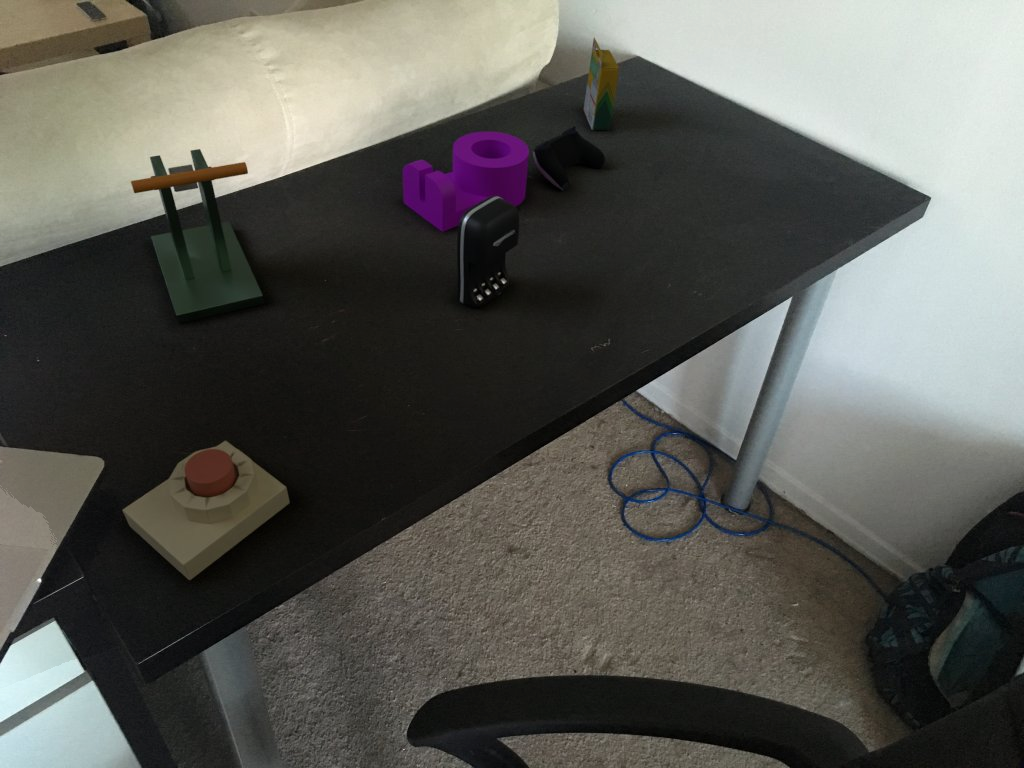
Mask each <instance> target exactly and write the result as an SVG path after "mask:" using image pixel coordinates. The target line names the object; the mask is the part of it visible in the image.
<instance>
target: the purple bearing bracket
mask: <svg viewBox="0 0 1024 768" xmlns="http://www.w3.org/2000/svg"><path fill="white" fill-rule="evenodd" d="M529 155H530V149H529V147H528V145H527V144H526V142H524V141H523V140H522V139H520V138H518V137H516V136H514V135H511V134H509V133H504V132H500V131H499V132H498V131H475V132H470V133H467V134H464V135H462V136H460V137H458V138H457V139H456V140H455V141H454V143H453V145H452V171H449V172H447V173H443V172H442V171H440V170H435V171H434V166H433V165H432V164H430V163H429V162H427V161H426V160H424V159H419V160H416V161H413V162H410V163H407V164H405V165H404V166H403V168H402V189H403V190H402V191H403V194H402V195H403V204H404V205H406V207H408V208H410V209H411V210H412V211H413V212H414V213H416V214H417V215H419V216H420V217H422V218H423V219H424V220H425V221H427V222H429V223H430V224H431V225H432V226H434V227H435V228H436V229H438V231H441V232H442V233H443V232H446V231H448V230H451V229H452V228H455V227H458V225H459V221H460V218H461V216H462V215H463V213H464V212H465V211H467V210H468V209H469V208H471V207H473V206H474V205H476V204H477V203H479V202H481V201H483V200H484V199H486V198H488V197H491V196H498V197H500V198H502V199H503V200H505V201H507V202H509V203H511V204H513V205H514V206H515V207H516V208H517V207H518V206H519V205H521V204H522V203H523V201H524V200H525V198H526V193H527V192H526V191H527V180H528V179H527V178H528V168H529V167H528V166H529V157H530V156H529Z"/></svg>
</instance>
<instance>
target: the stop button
mask: <svg viewBox="0 0 1024 768" xmlns="http://www.w3.org/2000/svg"><path fill="white" fill-rule="evenodd" d="M207 449H208V448H207ZM185 475H186V477H187V480H188V483H189V486H190V489H191V490H192V491H193V492H194V493H195V494H197V495H199V496H202V497H213V496H217V495H220V494H222V493H224V492H226V491H227V490H229V489H230V488H231V487H232V485H233V484H234V482H235V479H236V473H235V470H234V466H233V463H232V459H231V457H230V456H229V454H227V453H226V452H224V451H222V450H218V449H208V450H204V451H201V452H199V453H197V454H195V455H194V456H192V457H191V458H190V459H189V460H188V462H187V463H186V466H185Z"/></svg>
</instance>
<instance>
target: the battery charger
mask: <svg viewBox="0 0 1024 768" xmlns="http://www.w3.org/2000/svg"><path fill="white" fill-rule="evenodd" d="M519 237H520V212H519V209H518V208H517V206H516V207H515V206H514V205H513V204H511V203H509V202H507V201H505V200H503V199H502V198H500V197H498V196H491V197H488V198H486V199H484V200H483V201H481V202H479V203H477V204H476V205H474V206H473V207H471V208H469V209H468V210H467V211H465V212H464V213H463V215H462V216H461V218H460V221H459V225H458V226H457V238H456V239H457V240H456V245H457V246H456V249H457V250H456V255H457V257H456V258H457V259H456V261H457V264H456V265H457V292H456V293H457V296H456V299H457V300H458V302H460V303H461V304H464V305H467V306H469V307H471V308H474V309H475V308H478V309H479V308H482V307H484V306H486V305H487V304H489V303H490V302H491V301H494V299H496V298H497V297H499V296H500V295H502V294H503V293H504V292H505V291H507V290H508V289H509V288H510V278H509V275H508V271H507V267H506V255H507V253H508V252H509V251H511V250H512V249H515V247H517V245H518V244H519Z"/></svg>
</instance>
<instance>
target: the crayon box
mask: <svg viewBox="0 0 1024 768" xmlns="http://www.w3.org/2000/svg"><path fill="white" fill-rule="evenodd" d="M619 74H620V67H619V65H618V63H617V61H616V60H615V58H614V55H613V54H612V52H611V50H609V49H601V47H600V45H599V43H598V41H597V40H596V38H595V37H593V40H592V48H591V55H590V63H589V69H588V76H587V83H586V90H585V96H584V104H583V112H584V115H585V118H586V120H587V123H588V125H589V127H590V129H591V131H610V128H611V122H612V117H613V109H614V104H615V99H616V98H615V96H616V92H617V86H618V80H619Z"/></svg>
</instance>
